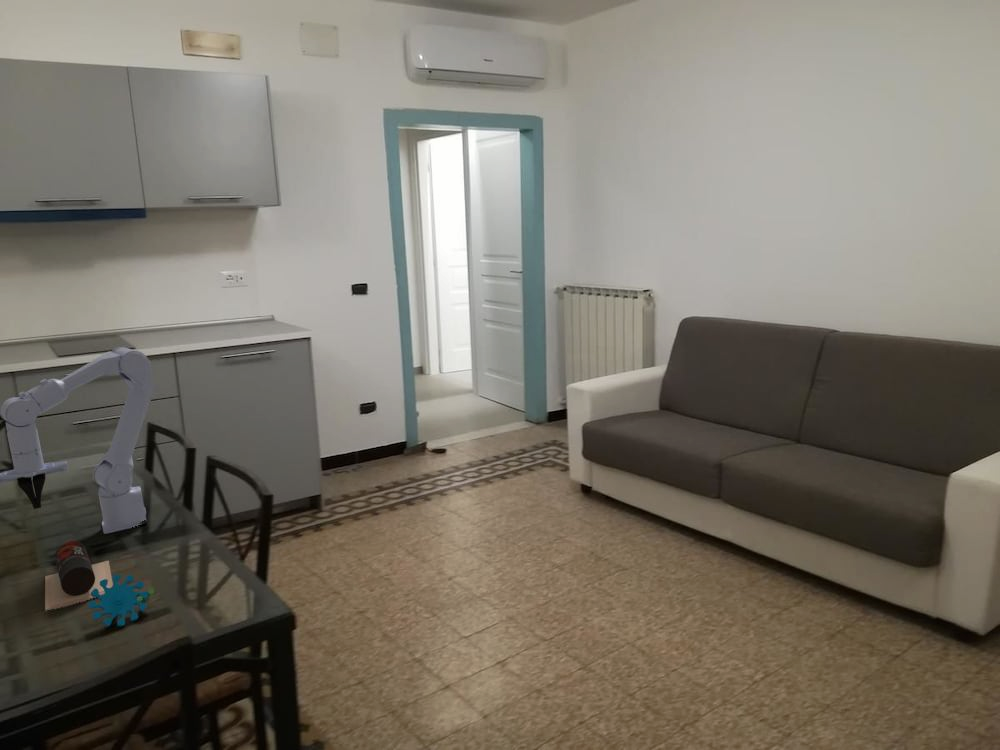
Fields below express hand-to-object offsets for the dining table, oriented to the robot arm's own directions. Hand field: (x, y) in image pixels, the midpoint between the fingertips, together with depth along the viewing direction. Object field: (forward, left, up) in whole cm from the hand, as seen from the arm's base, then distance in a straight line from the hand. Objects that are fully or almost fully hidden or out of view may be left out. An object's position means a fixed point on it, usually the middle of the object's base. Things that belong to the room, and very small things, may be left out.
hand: (37, 506), depth 168 cm
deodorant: (-5, +16, -7) cm, 18 cm away
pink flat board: (-6, +25, -10) cm, 28 cm away
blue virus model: (-13, +44, -11) cm, 47 cm away
